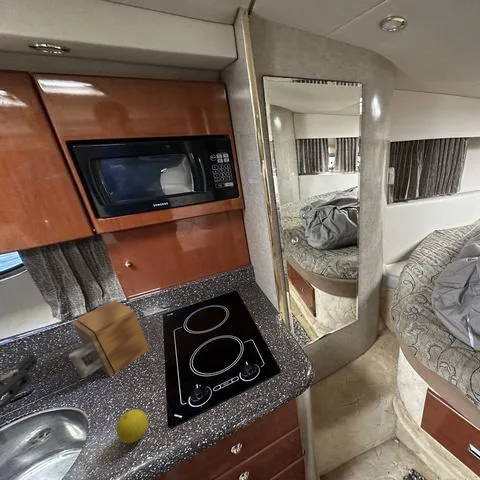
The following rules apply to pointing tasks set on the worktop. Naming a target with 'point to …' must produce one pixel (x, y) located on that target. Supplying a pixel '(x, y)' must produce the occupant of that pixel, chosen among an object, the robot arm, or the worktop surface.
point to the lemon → (132, 426)
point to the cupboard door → (89, 348)
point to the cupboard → (116, 333)
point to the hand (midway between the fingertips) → (9, 362)
